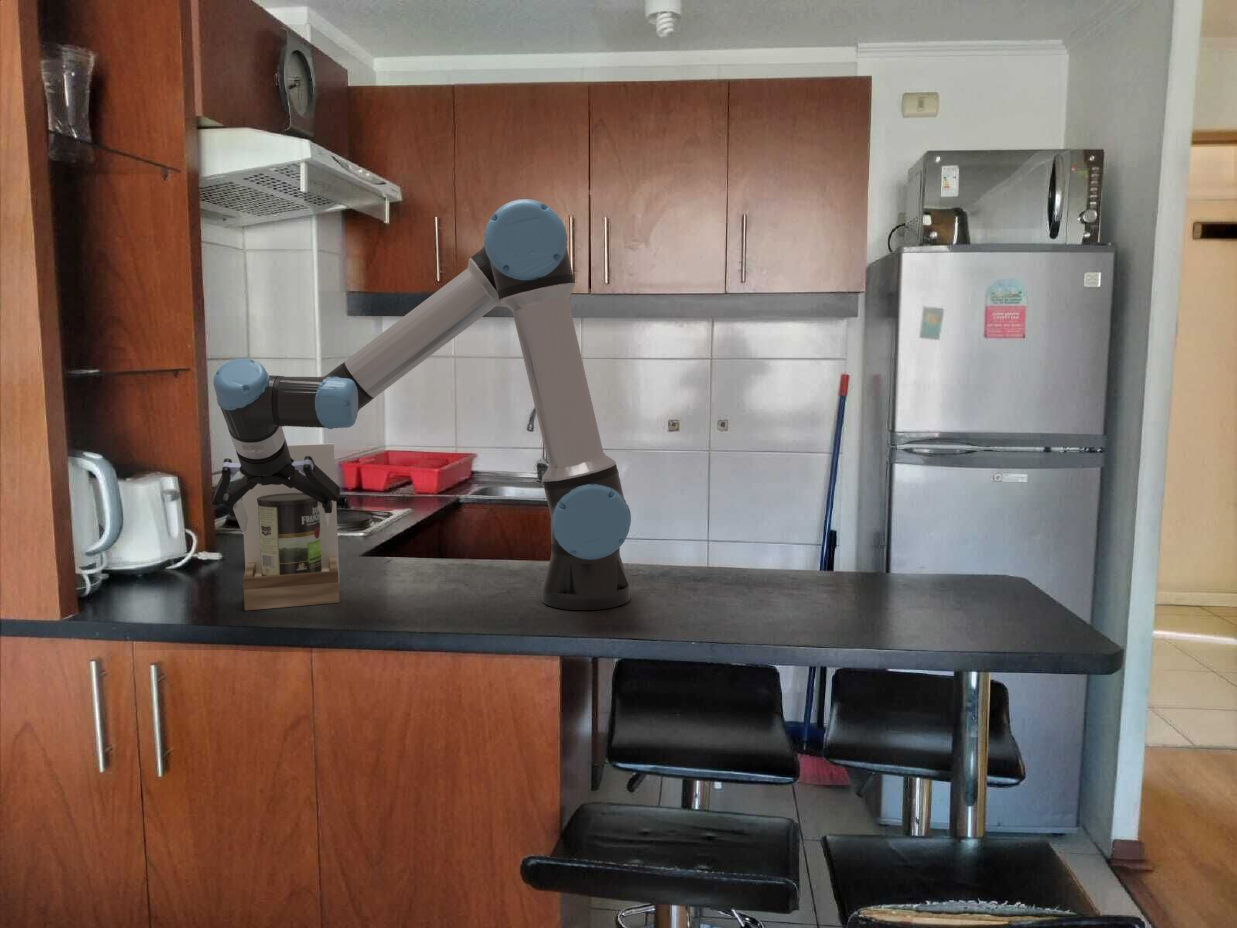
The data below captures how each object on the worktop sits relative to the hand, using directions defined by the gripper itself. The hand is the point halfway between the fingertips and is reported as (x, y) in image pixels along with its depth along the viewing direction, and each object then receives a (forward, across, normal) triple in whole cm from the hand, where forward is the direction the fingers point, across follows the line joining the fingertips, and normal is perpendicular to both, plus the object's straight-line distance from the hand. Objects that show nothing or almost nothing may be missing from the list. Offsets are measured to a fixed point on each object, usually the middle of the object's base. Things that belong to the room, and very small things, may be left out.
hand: (286, 523), depth 161 cm
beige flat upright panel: (+15, -1, -4) cm, 15 cm away
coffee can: (+8, 0, -6) cm, 10 cm away
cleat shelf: (+9, 0, -9) cm, 13 cm away
